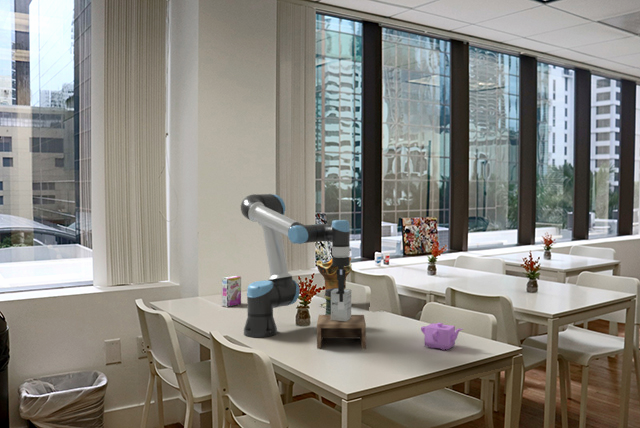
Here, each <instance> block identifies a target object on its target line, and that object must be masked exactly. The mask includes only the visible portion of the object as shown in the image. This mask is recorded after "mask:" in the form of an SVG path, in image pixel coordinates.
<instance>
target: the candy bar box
mask: <svg viewBox="0 0 640 428" xmlns="http://www.w3.org/2000/svg"><path fill="white" fill-rule="evenodd" d="M238 304H239V305H241V304H242V276H241V275H240V276H239V275H233V276H226V277H221V306H222V305H223V306H231V307H233V306H232V305H235V306H238ZM223 306H222V307H223Z"/></svg>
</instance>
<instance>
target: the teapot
mask: <svg viewBox="0 0 640 428" xmlns="http://www.w3.org/2000/svg"><path fill="white" fill-rule="evenodd" d="M461 330H463V328H457V329H456V326H455V325H449V324H444V323H442V322H437V323H434V322H432V323H430V324H428V325H426V326H421V327H420V331H421V332H422V333H423V335H424V347H428V348H430V349H440V350H441V349H442V350H441V351H446V350H450V349H451V348H452V347H454V346H455V345H456V340H457V339H458V335H459V332H461ZM445 349H446V350H445Z"/></svg>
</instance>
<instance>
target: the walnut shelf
mask: <svg viewBox="0 0 640 428" xmlns="http://www.w3.org/2000/svg"><path fill="white" fill-rule="evenodd" d="M366 332H367V324H366V318H365V314H351V319H349V320H348V321H347V322H345V321H335V320H331V315H325V314H318V317H317V322H316V349H322V343H323V339H360V345H361V349H363V350H366V349H367V344H366V343H367V342H366V341H367V333H366Z"/></svg>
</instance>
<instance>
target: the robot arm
mask: <svg viewBox="0 0 640 428" xmlns="http://www.w3.org/2000/svg"><path fill="white" fill-rule="evenodd" d="M240 212H241V214H242V216H243V217H244V218H246V219H247V220H248V221H250V222H253V223H257V222H258V225H260V226H261V227H262V232H263V238H264V239H263V240H264V244H265V245H264V246H265V251H266V257H267V264H268V269H269V274H270V276H269V278H268V279H267V280H257V281H254V282H251V283H249V284H248V286H247V290H246V291H247V292H246V296H247V297H246V300H247V303H246V305H247V306H246V307H247V310H246V311H247V317H246V321H245V323H244V328H243V335H244V336H246V337H248V338H249V337H250V338H267V337H271V336H275V335H277V334H278V327H277V324H276V320H275V318H274V309H276V308H281V307H288V306H290V305H293V304H295V303H296V302H297V301H298V299H299V296H300V285H299V283H297V280H294V279H293V274H290V272H289V269H288V265H287V264H288V263H287V259H286V253H285V246H284V241H283V236H285V237H288V240H289V242H291V243H292V244H299V245H302V244H308V243H319V242H331V256H332V258H331V259H332V265H333V266H338V270H336V274H337V280H338V292H336V294H338V310H344V288H346V289H347V287H346V285H347V284H346V285H344V280H345V275H346V270H344V266H349V265H350V262H351V260H350V251H352V248H351V246H350V245H351V244H350V236H351V235H350V233H351V228H350V221H349V220H347V219H333V220H332V221H331V224H328V223H314V224H304V223H301V222H299V221H296V220H295V219H292V218H290V217H288V216H286V215H285V213H286V205H285V201H284V199H283V198H282V197H280V196H279V195H278V194H272V193H268V194H267V193H265V194H262V193H261V194H258V193H257V194H254V193H253V194H249V195H247V196H246V197H244V198H243V199H242V201H241V204H240Z"/></svg>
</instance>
